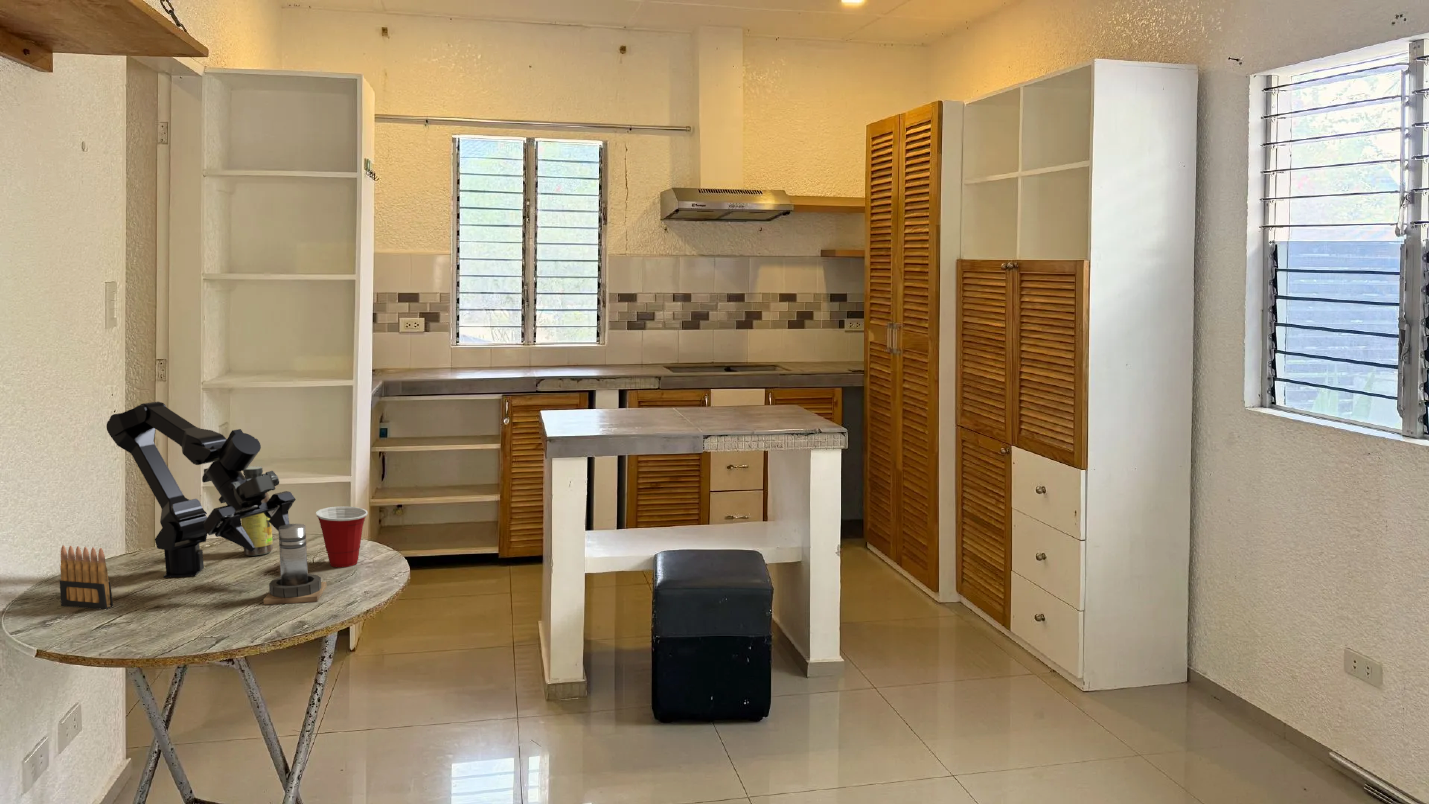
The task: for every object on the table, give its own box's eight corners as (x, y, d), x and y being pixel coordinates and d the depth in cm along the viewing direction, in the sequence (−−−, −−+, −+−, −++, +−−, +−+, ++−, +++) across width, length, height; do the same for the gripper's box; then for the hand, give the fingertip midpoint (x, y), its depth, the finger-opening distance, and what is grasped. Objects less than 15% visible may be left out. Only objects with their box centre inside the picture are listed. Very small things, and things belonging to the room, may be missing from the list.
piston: (283, 595, 217) (279, 531, 215) (280, 588, 222) (276, 525, 220) (310, 591, 220) (307, 528, 218) (306, 584, 224) (303, 522, 222)
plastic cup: (354, 572, 236) (351, 517, 235) (308, 569, 238) (305, 515, 237) (379, 558, 247) (377, 506, 245) (335, 556, 249) (332, 504, 247)
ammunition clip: (60, 605, 215) (55, 546, 214) (68, 602, 217) (62, 543, 215) (106, 609, 213) (101, 549, 211) (113, 606, 214) (108, 546, 213)
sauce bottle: (275, 554, 251) (269, 468, 248) (245, 558, 248) (239, 471, 245) (271, 548, 256) (265, 463, 254) (242, 551, 253) (236, 466, 251)
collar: (263, 604, 215) (262, 589, 215) (275, 589, 225) (274, 574, 224) (317, 601, 217) (316, 586, 216) (326, 586, 226) (325, 572, 226)
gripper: (209, 468, 214) (252, 531, 210) (287, 452, 230) (327, 510, 227) (185, 503, 219) (226, 565, 215) (262, 485, 235) (302, 542, 231)
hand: (272, 544), depth 222 cm, fingers open, 9 cm apart
